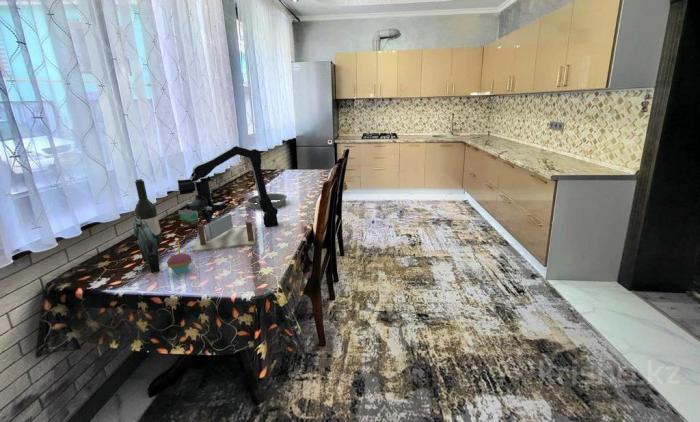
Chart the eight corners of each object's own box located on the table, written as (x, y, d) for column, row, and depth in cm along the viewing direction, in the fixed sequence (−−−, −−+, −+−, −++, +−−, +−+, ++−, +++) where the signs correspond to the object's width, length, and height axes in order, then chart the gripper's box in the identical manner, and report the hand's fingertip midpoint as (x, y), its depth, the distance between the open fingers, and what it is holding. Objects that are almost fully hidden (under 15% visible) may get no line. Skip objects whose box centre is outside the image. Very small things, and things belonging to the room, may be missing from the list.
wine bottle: (166, 239, 169) (153, 177, 160) (152, 246, 161) (138, 181, 153) (153, 238, 172) (140, 177, 163) (138, 244, 164) (123, 181, 155)
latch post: (254, 238, 162) (251, 219, 160) (253, 240, 160) (251, 221, 157) (248, 239, 162) (245, 220, 159) (248, 241, 159) (245, 222, 157)
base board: (255, 227, 181) (255, 225, 180) (255, 244, 158) (255, 242, 158) (201, 233, 175) (201, 232, 174) (193, 252, 152) (192, 250, 152)
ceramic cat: (139, 259, 148) (128, 213, 142) (156, 255, 151) (147, 210, 146) (147, 275, 132) (136, 225, 127) (166, 270, 136) (156, 221, 130)
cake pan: (244, 203, 228) (243, 196, 227) (281, 198, 238) (281, 191, 236) (251, 213, 207) (250, 205, 205) (292, 206, 216) (291, 199, 215)
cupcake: (174, 267, 138) (168, 239, 135) (196, 266, 139) (191, 237, 135) (165, 277, 130) (159, 247, 127) (189, 276, 131) (183, 245, 127)
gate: (209, 241, 157) (206, 226, 155) (205, 241, 158) (202, 226, 156) (233, 227, 174) (231, 213, 172) (229, 227, 175) (227, 213, 173)
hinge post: (206, 243, 160) (202, 224, 157) (205, 244, 158) (202, 225, 155) (201, 243, 159) (198, 224, 157) (200, 245, 157) (197, 226, 155)
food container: (191, 229, 182) (188, 210, 179) (181, 229, 183) (177, 210, 180) (205, 221, 194) (202, 204, 191) (195, 221, 195) (192, 204, 192)
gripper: (174, 195, 159) (180, 228, 164) (209, 196, 154) (215, 230, 158) (191, 189, 169) (196, 220, 174) (225, 190, 164) (229, 222, 169)
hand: (209, 223), depth 168 cm, fingers closed
